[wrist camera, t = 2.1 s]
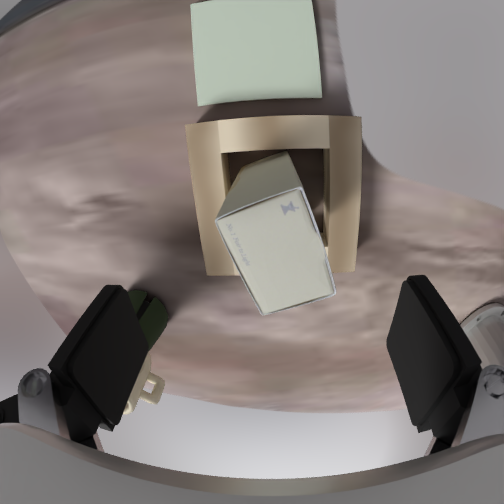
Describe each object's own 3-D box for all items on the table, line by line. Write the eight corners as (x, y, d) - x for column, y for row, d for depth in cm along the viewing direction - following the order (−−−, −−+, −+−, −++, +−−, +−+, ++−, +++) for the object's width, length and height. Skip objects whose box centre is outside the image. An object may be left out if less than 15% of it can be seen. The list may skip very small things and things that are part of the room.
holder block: (351, 116, 20) (361, 116, 18) (347, 255, 26) (354, 271, 23) (195, 123, 22) (185, 125, 19) (213, 259, 27) (207, 275, 25)
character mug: (196, 312, 31) (162, 408, 19) (175, 345, 34) (144, 430, 22) (114, 265, 29) (49, 342, 18) (103, 304, 32) (52, 378, 21)
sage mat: (309, -4, 15) (310, -7, 15) (321, 98, 20) (322, 97, 19) (192, 6, 16) (190, 4, 16) (199, 106, 21) (197, 105, 20)
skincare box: (240, 166, 23) (206, 214, 12) (289, 148, 22) (302, 180, 11) (266, 230, 26) (258, 319, 15) (313, 215, 25) (339, 296, 14)
